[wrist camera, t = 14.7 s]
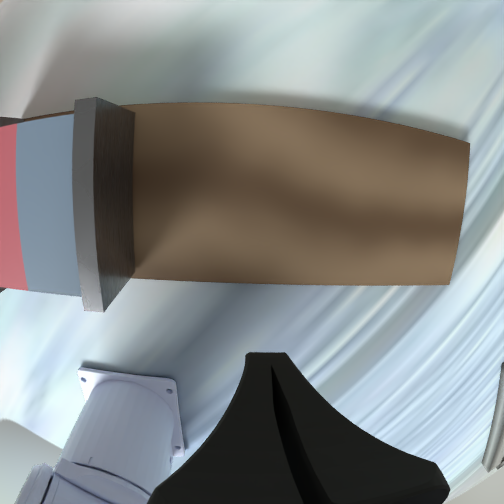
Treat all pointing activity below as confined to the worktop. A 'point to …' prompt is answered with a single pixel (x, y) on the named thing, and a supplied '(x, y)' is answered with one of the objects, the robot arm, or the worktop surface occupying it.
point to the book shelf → (291, 196)
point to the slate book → (47, 205)
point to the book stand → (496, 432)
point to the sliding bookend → (103, 199)
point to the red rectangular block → (9, 214)
